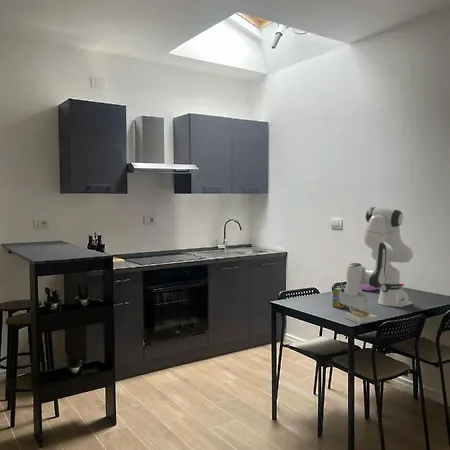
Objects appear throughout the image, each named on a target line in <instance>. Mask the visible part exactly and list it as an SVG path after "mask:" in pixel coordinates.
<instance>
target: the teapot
mask: <svg viewBox="0 0 450 450" xmlns="http://www.w3.org/2000/svg"><path fill="white" fill-rule="evenodd" d="M377 289H378V288H375V287H372V286H369V285H364V284H362V291H363V290H365V291H369V292H370V291H371V292H372V291H373V290H374V291H376V290H377ZM374 291H373V292H374Z"/></svg>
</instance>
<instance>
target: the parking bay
mask: <svg viewBox="0 0 450 450" xmlns="http://www.w3.org/2000/svg"><path fill="white" fill-rule="evenodd" d="M344 319H346V320H347V321H348V320H349V321H352V322H354V323H357V324H359V325H360V324H367V323H372V322H377V321H378V315H376V314H375V315H374V314H371V313H370V316H367V317H358V316H355V315H352V314H350V313H349V312H345V314H344Z"/></svg>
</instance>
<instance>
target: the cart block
mask: <svg viewBox="0 0 450 450" xmlns="http://www.w3.org/2000/svg"><path fill="white" fill-rule="evenodd" d="M370 314H371V312H370V311H368V310H364V311H363V310H360V309H357V310H354V309H353V310H352V315H355V316H358V317H367V316H370Z"/></svg>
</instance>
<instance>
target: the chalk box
mask: <svg viewBox="0 0 450 450" xmlns="http://www.w3.org/2000/svg"><path fill="white" fill-rule="evenodd" d="M340 288H345V287H344V283H339V286H338V287H335V288H333V289H332V307H333V308H339V309H340V308H341V309H345V310H346V309H349V306H347V305H344V304H341V303H340V302H339V295H340Z"/></svg>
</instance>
